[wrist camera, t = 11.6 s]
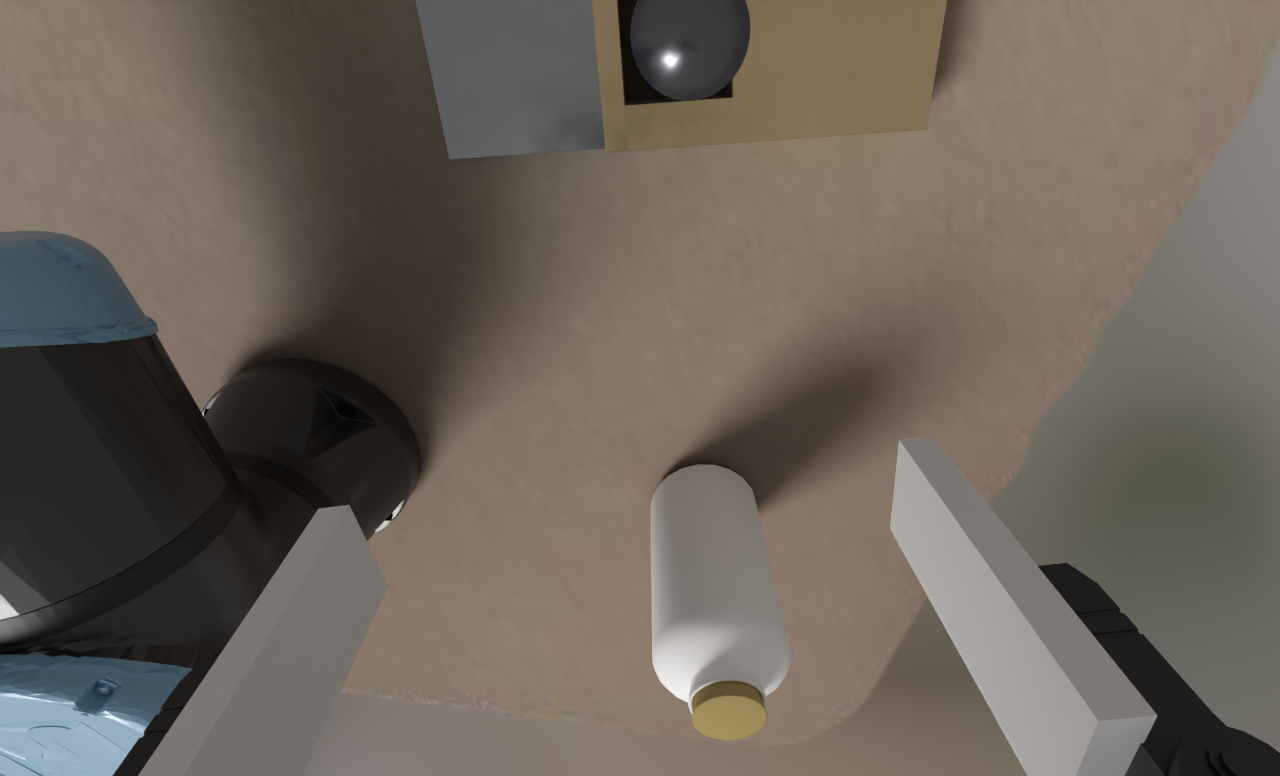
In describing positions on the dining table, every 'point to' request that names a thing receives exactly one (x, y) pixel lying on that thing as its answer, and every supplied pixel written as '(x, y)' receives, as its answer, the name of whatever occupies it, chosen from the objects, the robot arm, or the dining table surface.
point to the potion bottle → (715, 601)
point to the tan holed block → (602, 118)
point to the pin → (689, 44)
